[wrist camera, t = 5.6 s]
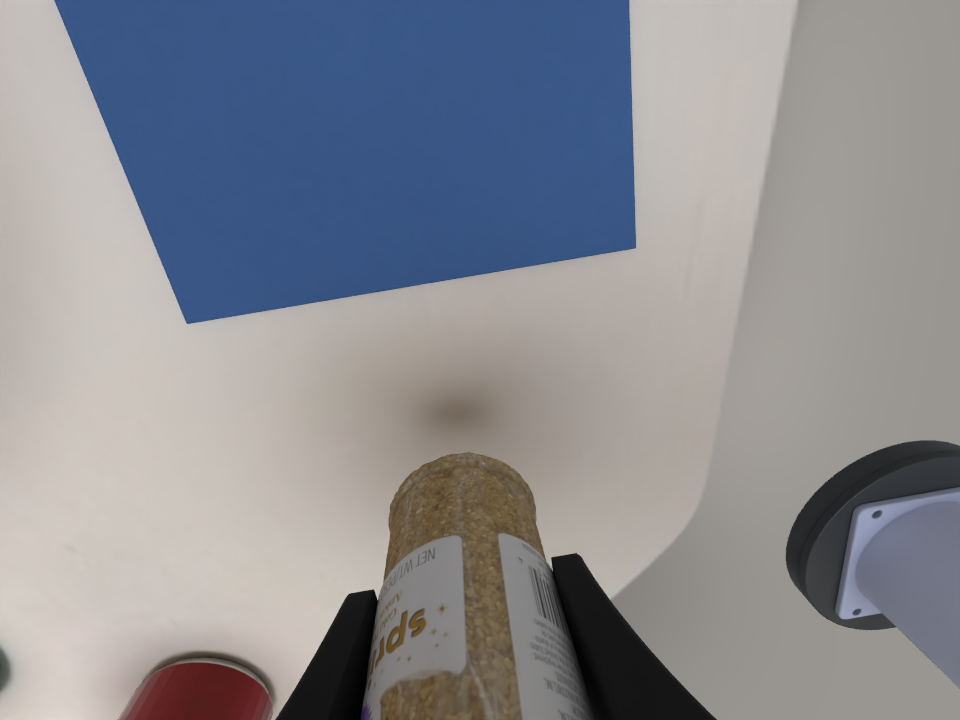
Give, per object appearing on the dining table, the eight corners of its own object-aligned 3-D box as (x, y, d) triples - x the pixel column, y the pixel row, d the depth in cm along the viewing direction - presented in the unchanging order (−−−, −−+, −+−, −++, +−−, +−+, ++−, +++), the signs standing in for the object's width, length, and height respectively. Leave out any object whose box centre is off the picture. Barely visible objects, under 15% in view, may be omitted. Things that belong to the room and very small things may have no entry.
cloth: (621, -146, 14) (625, -154, 14) (633, 247, 18) (636, 248, 18) (38, -55, 14) (29, -60, 13) (190, 322, 18) (186, 324, 18)
